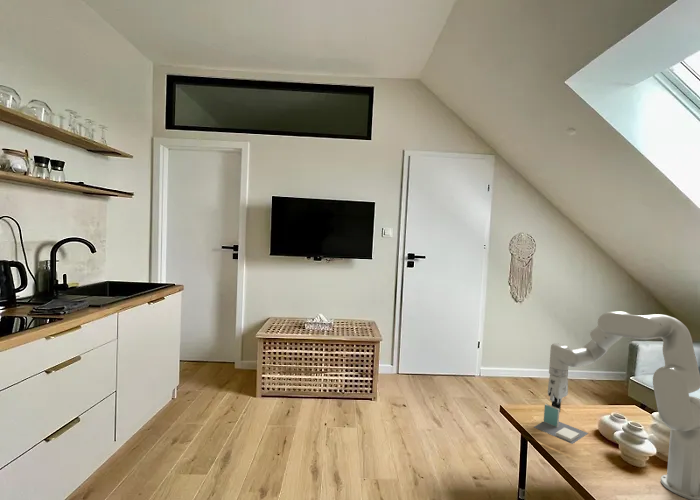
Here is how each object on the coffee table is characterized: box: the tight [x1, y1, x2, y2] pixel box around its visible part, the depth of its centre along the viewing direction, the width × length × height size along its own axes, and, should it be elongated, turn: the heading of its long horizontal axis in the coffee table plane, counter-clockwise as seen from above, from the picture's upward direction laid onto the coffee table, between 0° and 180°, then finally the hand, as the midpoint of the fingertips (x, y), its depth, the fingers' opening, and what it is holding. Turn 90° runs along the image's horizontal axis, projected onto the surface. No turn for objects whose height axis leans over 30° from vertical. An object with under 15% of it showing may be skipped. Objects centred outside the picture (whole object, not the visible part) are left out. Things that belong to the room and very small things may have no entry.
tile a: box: [556, 427, 579, 442], centre depth 159 cm, size 6×1×8 cm
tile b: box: [543, 403, 561, 427], centre depth 168 cm, size 6×1×8 cm, turn 37°
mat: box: [533, 421, 589, 445], centre depth 163 cm, size 16×16×1 cm
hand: (555, 411), depth 171 cm, fingers closed
